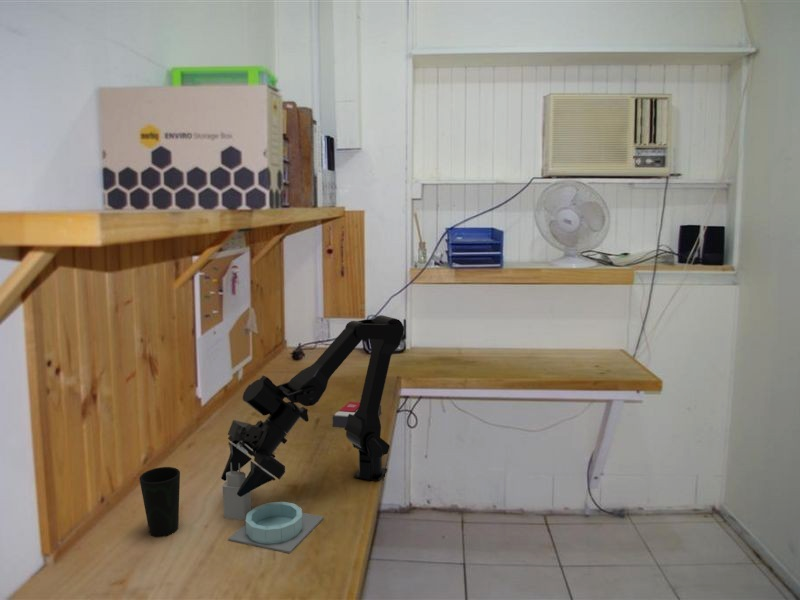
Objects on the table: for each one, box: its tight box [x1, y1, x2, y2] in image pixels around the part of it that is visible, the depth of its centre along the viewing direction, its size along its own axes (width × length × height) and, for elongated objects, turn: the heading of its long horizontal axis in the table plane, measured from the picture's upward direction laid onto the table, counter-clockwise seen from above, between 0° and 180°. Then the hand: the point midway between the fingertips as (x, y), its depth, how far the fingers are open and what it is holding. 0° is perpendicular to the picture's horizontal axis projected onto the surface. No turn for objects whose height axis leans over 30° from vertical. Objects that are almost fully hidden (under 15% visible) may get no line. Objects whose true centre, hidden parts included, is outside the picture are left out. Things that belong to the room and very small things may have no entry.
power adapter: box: [221, 462, 252, 521], centre depth 132 cm, size 3×5×12 cm, turn 78°
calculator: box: [332, 401, 382, 429], centre depth 190 cm, size 11×4×15 cm
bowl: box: [245, 501, 303, 544], centre depth 126 cm, size 11×11×3 cm
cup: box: [139, 466, 181, 538], centre depth 126 cm, size 8×8×12 cm
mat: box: [228, 512, 325, 554], centre depth 127 cm, size 14×14×1 cm
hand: (230, 487), depth 131 cm, fingers open, 9 cm apart
